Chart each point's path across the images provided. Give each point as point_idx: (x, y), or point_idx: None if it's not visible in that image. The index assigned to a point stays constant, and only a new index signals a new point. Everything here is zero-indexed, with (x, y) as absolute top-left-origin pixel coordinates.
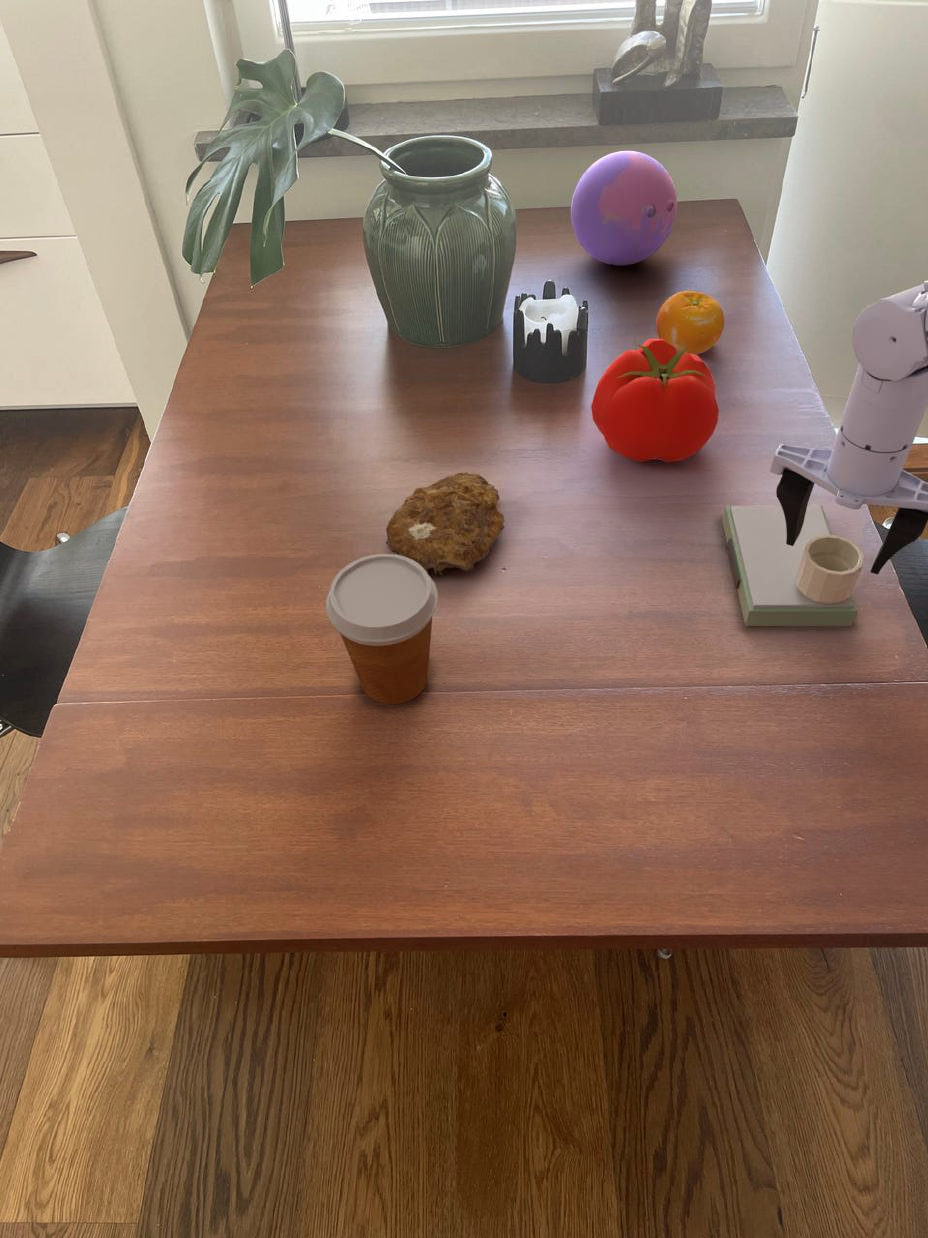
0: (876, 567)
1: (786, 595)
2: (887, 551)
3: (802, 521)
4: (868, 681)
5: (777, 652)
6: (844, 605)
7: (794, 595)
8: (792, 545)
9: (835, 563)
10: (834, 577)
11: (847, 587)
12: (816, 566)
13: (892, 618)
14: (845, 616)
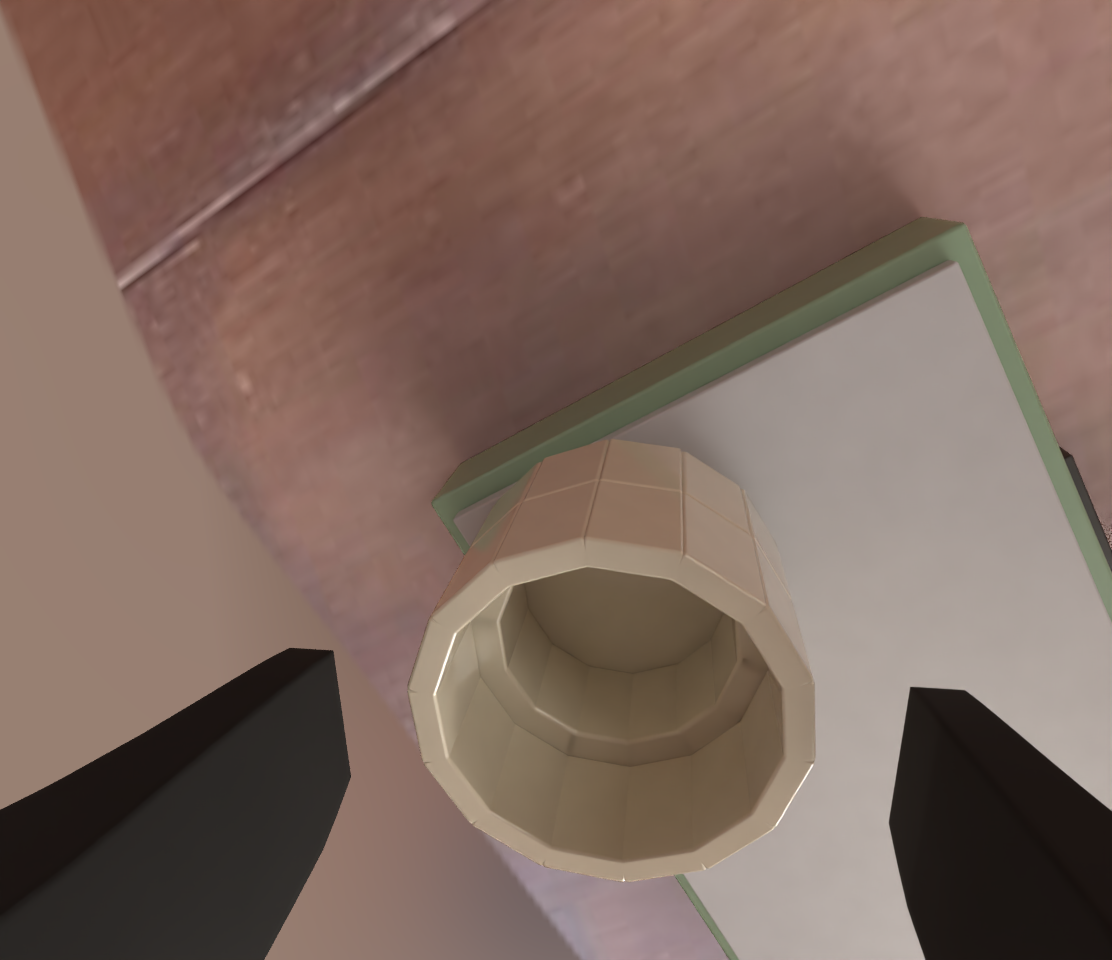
0: (264, 676)
1: (786, 432)
2: (86, 802)
3: (939, 925)
4: (278, 175)
5: (711, 122)
6: (488, 499)
7: (744, 450)
8: (919, 689)
9: (602, 712)
10: (537, 533)
11: (470, 547)
12: (682, 564)
13: (337, 579)
14: (477, 466)
